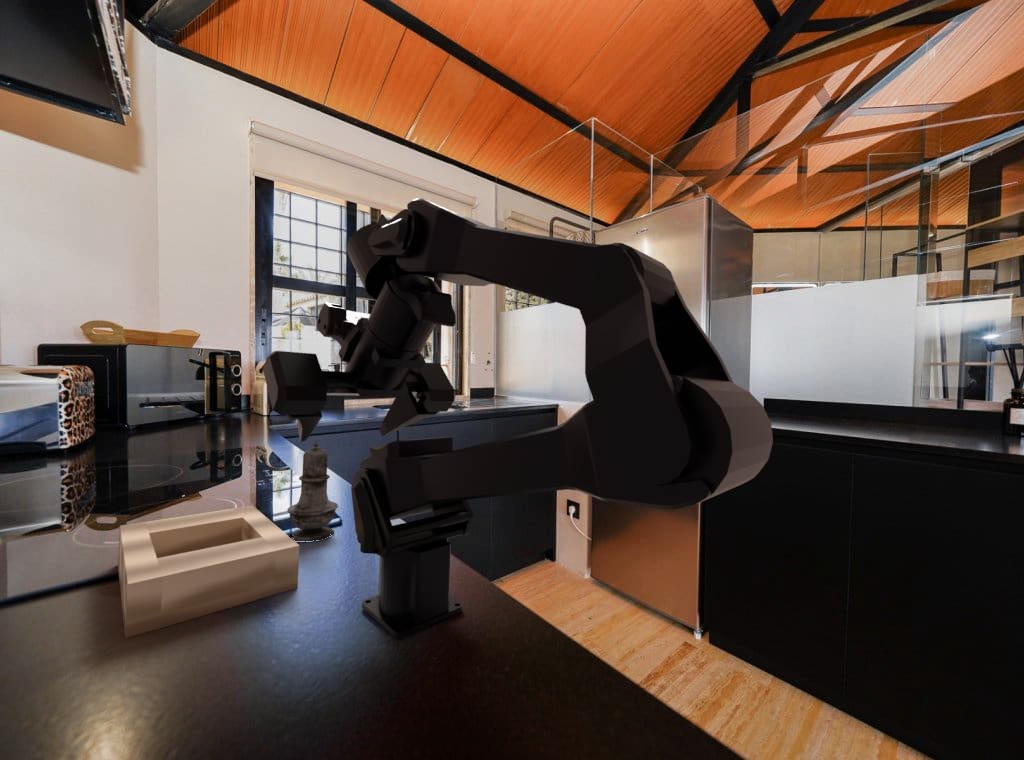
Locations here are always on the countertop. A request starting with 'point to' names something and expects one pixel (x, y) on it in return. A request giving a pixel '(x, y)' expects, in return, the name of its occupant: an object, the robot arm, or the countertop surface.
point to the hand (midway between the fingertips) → (344, 435)
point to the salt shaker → (313, 499)
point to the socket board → (201, 566)
